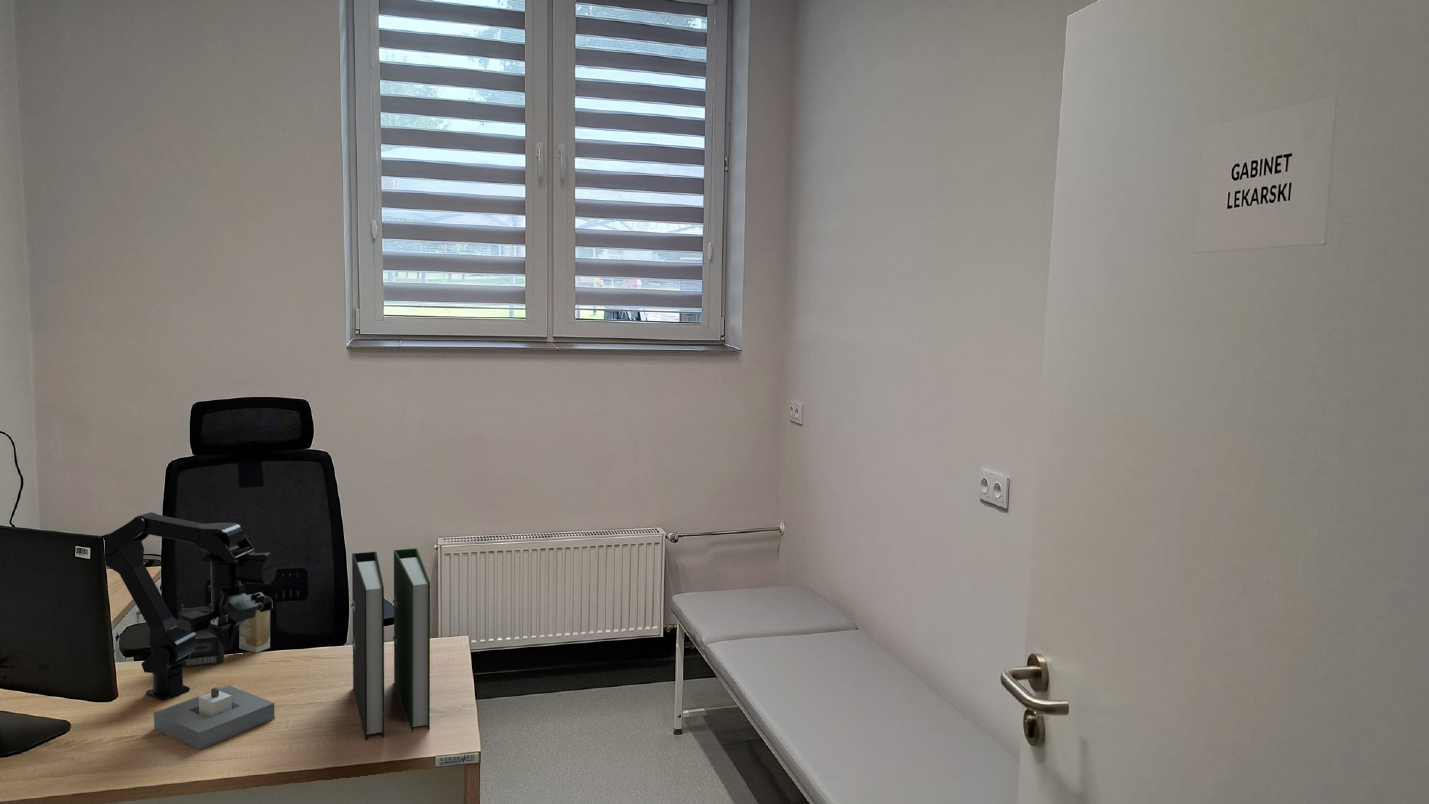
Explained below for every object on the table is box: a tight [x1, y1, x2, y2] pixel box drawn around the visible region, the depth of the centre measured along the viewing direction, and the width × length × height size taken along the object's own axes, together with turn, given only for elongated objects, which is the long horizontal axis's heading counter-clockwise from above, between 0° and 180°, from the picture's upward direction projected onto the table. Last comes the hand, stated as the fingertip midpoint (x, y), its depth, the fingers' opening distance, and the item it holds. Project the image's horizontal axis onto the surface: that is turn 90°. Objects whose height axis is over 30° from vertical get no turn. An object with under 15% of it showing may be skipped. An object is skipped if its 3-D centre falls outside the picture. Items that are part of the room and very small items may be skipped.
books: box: [350, 547, 431, 741], centre depth 193 cm, size 27×15×32 cm, turn 26°
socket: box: [153, 685, 276, 751], centre depth 184 cm, size 16×16×4 cm
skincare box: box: [238, 610, 271, 654], centre depth 224 cm, size 6×4×12 cm
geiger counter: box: [176, 603, 226, 669], centre depth 214 cm, size 10×4×15 cm, turn 113°
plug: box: [199, 687, 232, 718], centre depth 184 cm, size 5×4×6 cm
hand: (227, 649), depth 196 cm, fingers closed
